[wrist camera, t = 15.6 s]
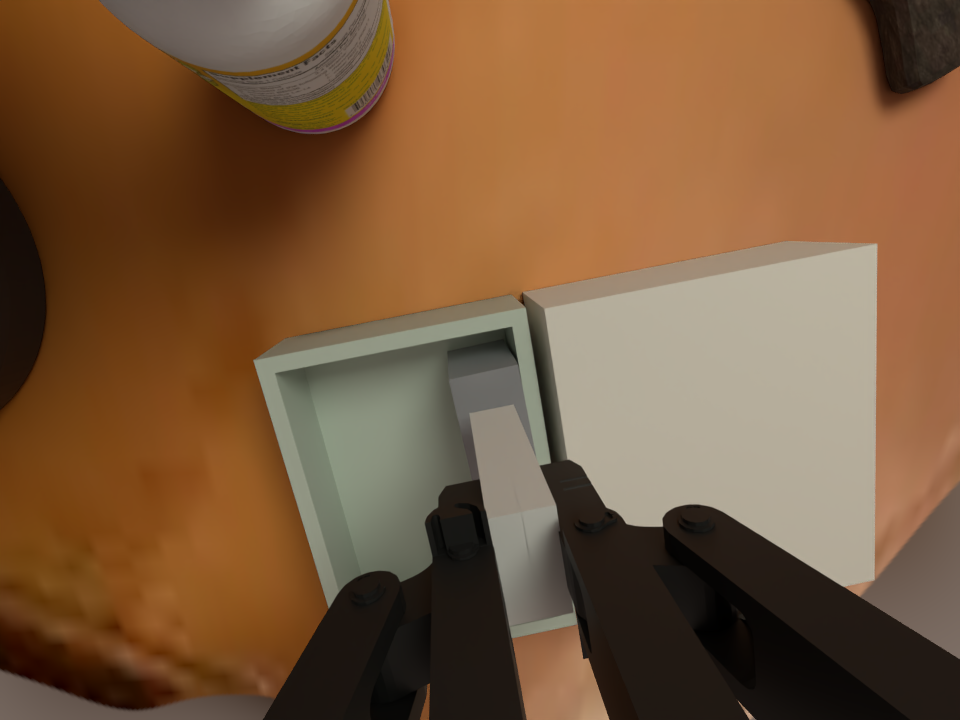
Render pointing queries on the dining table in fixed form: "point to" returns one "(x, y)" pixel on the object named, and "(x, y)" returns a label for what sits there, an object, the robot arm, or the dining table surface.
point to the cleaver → (918, 40)
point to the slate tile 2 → (484, 388)
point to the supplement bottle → (277, 53)
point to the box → (385, 433)
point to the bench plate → (724, 393)
